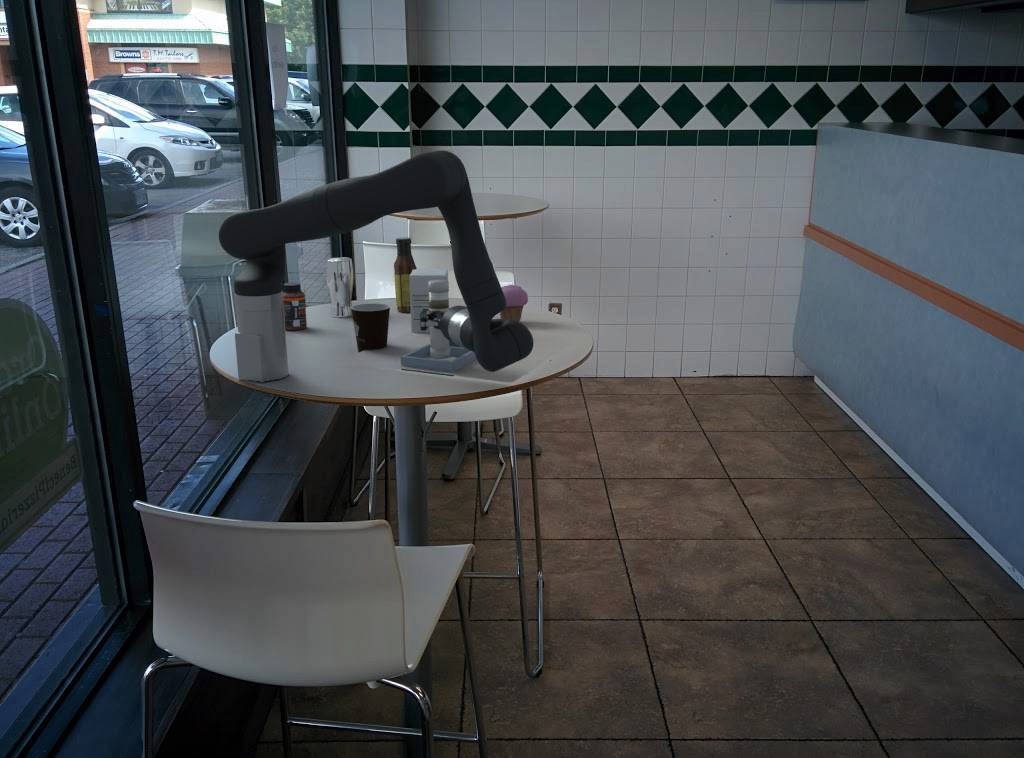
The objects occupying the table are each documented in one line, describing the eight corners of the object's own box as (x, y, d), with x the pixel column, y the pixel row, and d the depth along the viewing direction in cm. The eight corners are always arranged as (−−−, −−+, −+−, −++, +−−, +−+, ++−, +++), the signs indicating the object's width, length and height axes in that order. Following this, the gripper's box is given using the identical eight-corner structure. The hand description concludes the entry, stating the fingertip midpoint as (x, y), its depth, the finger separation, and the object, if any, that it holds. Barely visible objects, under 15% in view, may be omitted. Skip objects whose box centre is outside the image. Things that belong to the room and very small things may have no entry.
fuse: (444, 359, 185) (442, 283, 181) (426, 357, 187) (424, 282, 182) (453, 355, 189) (452, 280, 185) (436, 353, 190) (434, 279, 186)
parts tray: (452, 376, 181) (452, 362, 180) (401, 370, 185) (400, 356, 185) (478, 362, 191) (477, 349, 191) (428, 356, 196) (428, 343, 195)
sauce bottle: (423, 309, 245) (421, 237, 239) (412, 314, 239) (409, 239, 234) (403, 307, 247) (400, 235, 242) (391, 312, 242) (388, 238, 236)
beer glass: (329, 312, 241) (326, 257, 237) (355, 312, 241) (353, 257, 237) (327, 318, 234) (324, 261, 230) (354, 317, 235) (351, 261, 231)
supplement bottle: (303, 331, 220) (300, 285, 216) (279, 331, 220) (276, 285, 217) (309, 325, 225) (306, 281, 222) (286, 325, 225) (283, 281, 222)
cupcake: (526, 319, 233) (527, 281, 230) (528, 327, 224) (528, 287, 222) (492, 320, 232) (492, 282, 230) (493, 327, 224) (493, 288, 221)
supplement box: (414, 328, 223) (412, 268, 219) (449, 328, 223) (448, 268, 219) (410, 336, 214) (408, 274, 210) (447, 336, 214) (446, 274, 210)
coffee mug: (390, 355, 197) (388, 310, 195) (351, 355, 197) (348, 311, 194) (393, 342, 208) (391, 300, 206) (356, 343, 208) (354, 300, 205)
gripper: (499, 306, 175) (464, 291, 190) (432, 312, 169) (401, 297, 184) (499, 343, 177) (465, 326, 192) (433, 350, 171) (402, 332, 186)
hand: (434, 312), depth 188 cm, fingers closed on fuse, 4 cm apart
